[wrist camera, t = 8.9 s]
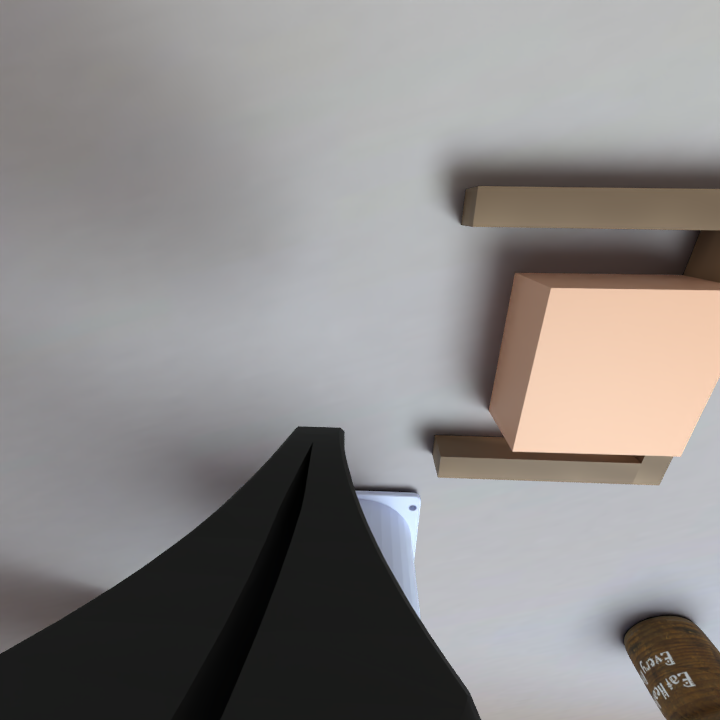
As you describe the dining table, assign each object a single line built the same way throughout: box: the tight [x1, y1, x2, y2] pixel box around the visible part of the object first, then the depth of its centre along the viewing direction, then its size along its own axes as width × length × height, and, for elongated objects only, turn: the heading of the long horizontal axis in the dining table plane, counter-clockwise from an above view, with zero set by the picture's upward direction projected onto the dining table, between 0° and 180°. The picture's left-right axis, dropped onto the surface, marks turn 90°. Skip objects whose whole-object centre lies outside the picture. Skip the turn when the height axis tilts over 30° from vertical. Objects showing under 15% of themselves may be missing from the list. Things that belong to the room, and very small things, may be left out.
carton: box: [489, 273, 720, 457], centre depth 17 cm, size 8×8×4 cm
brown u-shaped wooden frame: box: [432, 186, 720, 485], centre depth 17 cm, size 15×12×2 cm
